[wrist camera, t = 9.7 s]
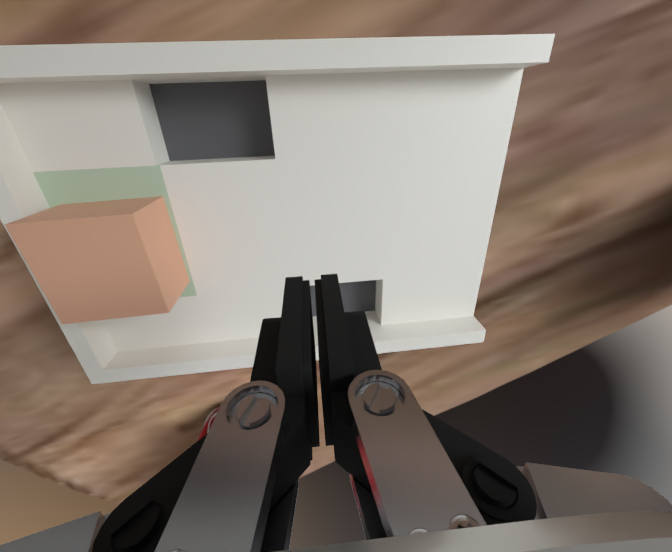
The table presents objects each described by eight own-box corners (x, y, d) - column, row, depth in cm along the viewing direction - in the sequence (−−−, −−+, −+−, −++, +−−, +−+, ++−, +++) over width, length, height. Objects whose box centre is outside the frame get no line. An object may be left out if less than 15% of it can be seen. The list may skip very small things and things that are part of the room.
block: (60, 204, 19) (4, 224, 15) (163, 196, 19) (132, 213, 15) (101, 290, 21) (62, 324, 18) (189, 281, 22) (169, 312, 18)
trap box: (-5, 64, 17) (-96, 47, 13) (502, 51, 20) (555, 33, 16) (122, 344, 26) (91, 384, 22) (457, 311, 29) (483, 342, 25)
